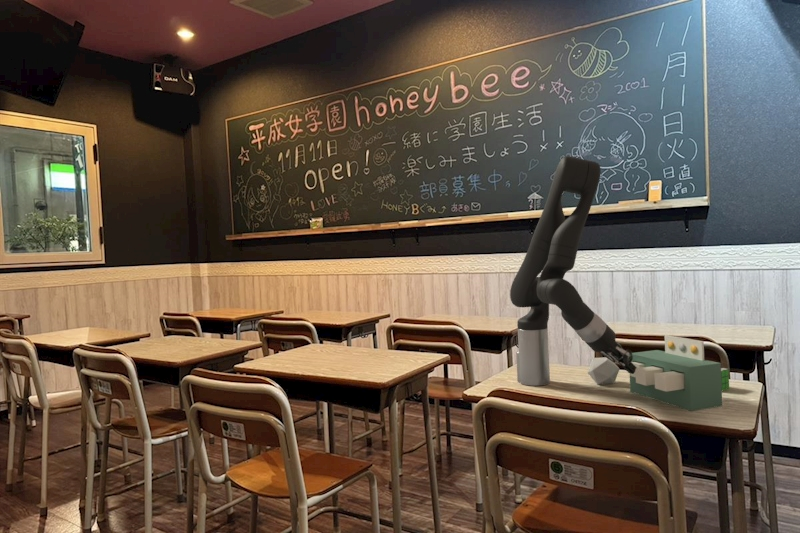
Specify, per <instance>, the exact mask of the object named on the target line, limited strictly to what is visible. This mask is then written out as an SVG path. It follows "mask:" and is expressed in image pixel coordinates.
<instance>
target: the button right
mask: <svg viewBox="0 0 800 533" xmlns="http://www.w3.org/2000/svg"><path fill="white" fill-rule="evenodd" d="M654 376H655V389H659V390H662V391H666V392H667V391H674V390H680V389H685V377H684V374H683V373H679V372H675V371H670V372H663V373H655V374H654Z"/></svg>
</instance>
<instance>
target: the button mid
mask: <svg viewBox="0 0 800 533" xmlns="http://www.w3.org/2000/svg"><path fill="white" fill-rule="evenodd" d="M663 372H664V369H663V368H659V367H655V366H651V367H644V368H636V369H635V373H636V383H639V384H642V385H645V386H647V385H654V384H655V376H654V374H655V373H663Z"/></svg>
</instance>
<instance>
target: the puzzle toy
mask: <svg viewBox="0 0 800 533" xmlns="http://www.w3.org/2000/svg"><path fill="white" fill-rule="evenodd" d="M729 369H730V368H725V367H721V381H722V390H723V391H725V389H727V390H729V389H730V376H729V375H730V373H729Z"/></svg>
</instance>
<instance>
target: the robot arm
mask: <svg viewBox="0 0 800 533" xmlns="http://www.w3.org/2000/svg"><path fill="white" fill-rule="evenodd" d="M601 169H602V168H601V165H600V164H599V162H596V161H592V160H588V159H583V158H579V157H574V156H568V155H565V156H563V157H562V158H561V159H560V161H559V163H558V164H557V166H556V168H555V171H554V172H555V173H554V175H553V179H552V183H551V186H550V188H549V192H548V196H547V198H546V201H545V204H544V208H543V209H542V213H541V215H540V217H539V219H538V223H537V225H536V227H535V229H534V232H533V234H532V238H531V240H530V244H529V245H528V249H527V251H526V254H525V256H524V258H523V261H522V264H521V265H520V266H519V269H518V271H517V272H516V275H515V277H514V278H513V280H512V282H511V286H510V290H509V297H510V301H511V303H512V305H513V306H514V307H517V308H530V310H529V311H528V312H527V314H525V315H524V316H522V317H520V318H519V319H517V323H516V324H517V341H518V342H517V343H518V351H517V352H515V353H516V355H515V357H516V375H517V376H516V377H517V378H516V379H517V382H518V383H520V384H521V385H525V386H531V387H532V386H535V387H536V386H545V385H549V384H550V383H551V378H550V353H549V352H550V351H549V332H548V331H549V330H548V323H549V319H550V305H555V306H557V308H559V310H560V311H561V313H560V314H561V317H562V318H563V320H564V321H565V322H566V323H567V324H568V325H569V326H570V328H572V329H573V331H575V333H576V334H577V335H578V336H579V337H580V338H581V339H582V341H583V342H585V344H586V345H587V346H588V347H590V349H592V351H593V352H596V353H599V354H600V355H602V356H604V357H607V358H608V359H609V360H611V361H612V362H614V363H615V364H616V365H617V366H618V365H619V366H621V367H622V368H623V369H624V370H625V371H626V372H627V373H628V374H630V373H631V374H633V373H634V372H635V369H636V367H635V366H634V365H633V364H632V363H631V361H632V360H633V356H632V353H633V351H632V350H631V349H628V348H627V349H626V350H625V349H624V348H623V347H622V345H621V344H620V342H618V341H616V337H617V335H616V333H615V331H614V330H613V329H612V328H611V327H610V326H609V325H608V324H607V322H605V321H604V320H603V319H602V318H601V316H599V315H598V314H597V313H595V312H594V310H592V309H591V308H590V307H589V306H588V304H586V302H584V301H583V298H582V297H581V295H580V293H579V292H578V290H577V289H576V287H575V286H574V285H573V284H572V283H571V282H570V281H568V280H566V279H564V277H565V276H566V273H567V272H569V271H571V270H573V268H574V267H575V263H576V258H577V254H578V248H579V244H580V240H581V237H582V233H583V230H584V227H585V225H586V222H587V219H588V216H589V213H590V211H591V207H592V205H593V202H594V199H595V196H596V192H597V189H598V186H599V184H600V178H601V172H602V171H601ZM564 192H567V193H571V194H576V195H578V196H580V198H579V200H578V203H577V205H576V207H575V209H574V210H573V211H572V213H571V214H570V215H569V216H568V217H567V218H566V217H565V216H566V215H565V214H564V210H563V205H562V204H563V203H562V196H563V194H564Z"/></svg>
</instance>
